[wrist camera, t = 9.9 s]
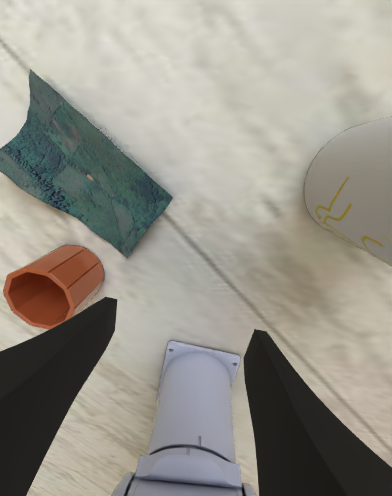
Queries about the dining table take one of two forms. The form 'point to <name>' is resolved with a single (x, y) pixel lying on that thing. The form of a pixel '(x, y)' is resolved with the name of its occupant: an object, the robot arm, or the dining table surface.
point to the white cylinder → (355, 187)
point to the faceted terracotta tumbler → (54, 286)
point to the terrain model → (81, 171)
